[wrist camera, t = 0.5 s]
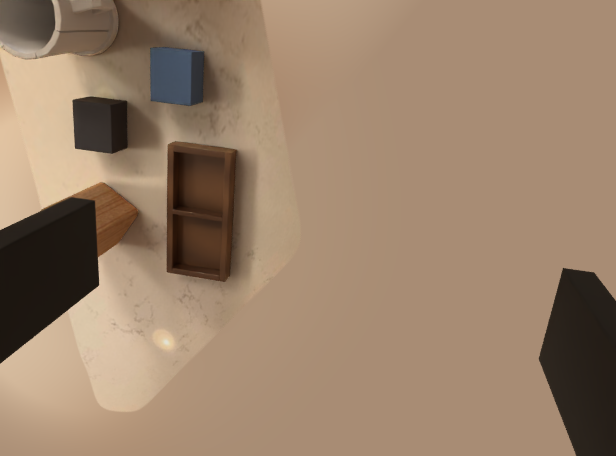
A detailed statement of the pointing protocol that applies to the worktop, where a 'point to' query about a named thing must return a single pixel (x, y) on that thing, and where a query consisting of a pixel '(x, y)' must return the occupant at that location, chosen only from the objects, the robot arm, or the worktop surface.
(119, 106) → the dark grey block
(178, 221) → the holder
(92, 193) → the decorative item
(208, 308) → the worktop surface
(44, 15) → the cup
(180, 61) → the slate blue block
